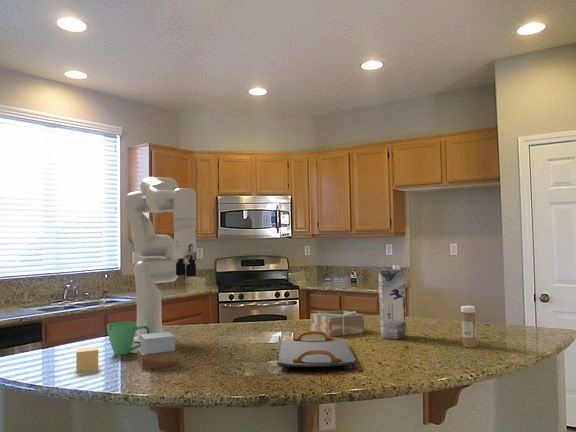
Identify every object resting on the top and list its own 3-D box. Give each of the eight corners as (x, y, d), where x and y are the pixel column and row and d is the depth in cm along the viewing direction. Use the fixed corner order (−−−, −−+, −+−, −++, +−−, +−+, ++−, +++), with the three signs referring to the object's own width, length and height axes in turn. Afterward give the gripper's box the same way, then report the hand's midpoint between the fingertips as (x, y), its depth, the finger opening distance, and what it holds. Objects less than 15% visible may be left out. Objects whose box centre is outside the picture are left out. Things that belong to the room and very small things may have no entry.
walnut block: (137, 363, 153) (137, 348, 153) (169, 359, 157) (169, 345, 157) (142, 370, 144) (142, 354, 144) (175, 365, 148) (175, 350, 148)
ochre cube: (76, 368, 147) (76, 348, 148) (97, 365, 150) (97, 346, 150) (76, 372, 142) (76, 352, 142) (98, 370, 144) (98, 349, 145)
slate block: (140, 348, 153) (140, 334, 153) (168, 345, 157) (168, 331, 157) (145, 354, 145) (145, 339, 145) (175, 350, 149) (174, 335, 149)
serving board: (359, 374, 133) (358, 351, 133) (275, 376, 133) (274, 353, 134) (345, 345, 171) (344, 327, 172) (280, 347, 172) (280, 329, 172)
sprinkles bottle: (479, 346, 161) (477, 306, 162) (471, 348, 159) (469, 307, 160) (468, 344, 165) (466, 305, 166) (459, 346, 163) (457, 306, 164)
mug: (103, 357, 161) (103, 327, 162) (111, 350, 171) (111, 322, 172) (147, 355, 163) (147, 325, 163) (153, 348, 172) (153, 320, 173)
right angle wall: (356, 329, 199) (355, 311, 199) (343, 334, 189) (343, 315, 189) (330, 328, 205) (330, 310, 206) (317, 332, 195) (316, 313, 196)
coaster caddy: (310, 330, 201) (310, 313, 201) (343, 326, 208) (343, 310, 208) (329, 336, 186) (329, 318, 187) (364, 332, 193) (363, 314, 194)
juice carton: (379, 339, 179) (376, 266, 181) (384, 334, 189) (382, 265, 190) (403, 340, 176) (400, 266, 177) (407, 335, 185) (404, 264, 187)
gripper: (165, 226, 168) (166, 275, 167) (183, 223, 154) (184, 277, 153) (186, 226, 172) (187, 274, 171) (205, 223, 158) (206, 276, 157)
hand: (185, 275), depth 162 cm, fingers open, 9 cm apart
